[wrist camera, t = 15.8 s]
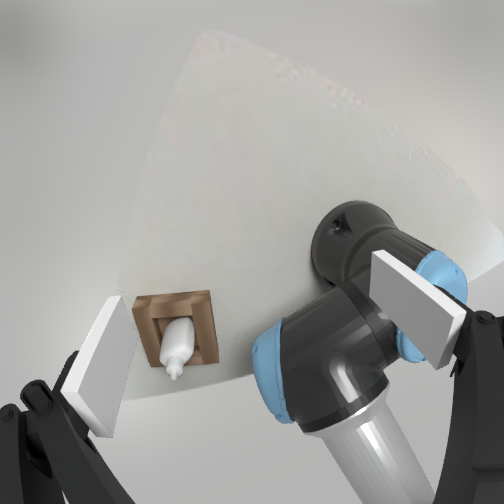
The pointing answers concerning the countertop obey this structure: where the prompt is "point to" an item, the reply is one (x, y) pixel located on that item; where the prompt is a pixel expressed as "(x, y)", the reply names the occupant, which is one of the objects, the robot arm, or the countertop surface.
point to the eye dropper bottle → (177, 346)
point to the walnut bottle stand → (167, 310)
